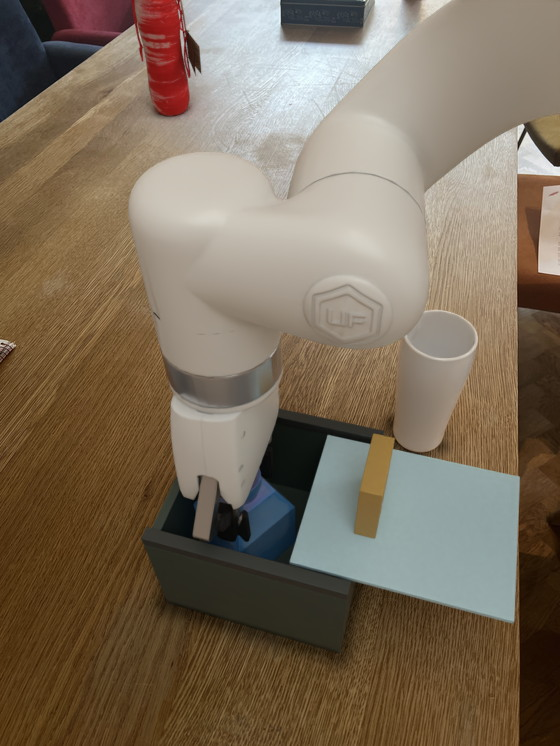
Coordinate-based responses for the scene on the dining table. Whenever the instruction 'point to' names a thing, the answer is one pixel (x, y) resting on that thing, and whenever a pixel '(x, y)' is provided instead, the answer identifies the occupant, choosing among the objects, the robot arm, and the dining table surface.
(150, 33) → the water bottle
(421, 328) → the drinking glass
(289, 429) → the display box
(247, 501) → the perfume bottle
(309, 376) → the dining table surface
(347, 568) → the box lid
